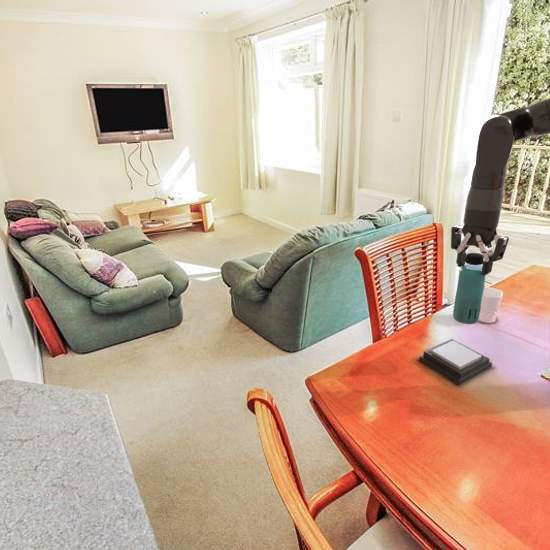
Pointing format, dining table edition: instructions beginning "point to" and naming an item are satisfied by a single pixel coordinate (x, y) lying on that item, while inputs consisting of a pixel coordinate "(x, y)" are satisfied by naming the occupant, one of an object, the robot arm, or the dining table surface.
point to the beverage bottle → (469, 290)
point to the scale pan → (456, 354)
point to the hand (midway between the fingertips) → (472, 269)
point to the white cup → (490, 304)
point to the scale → (452, 371)
